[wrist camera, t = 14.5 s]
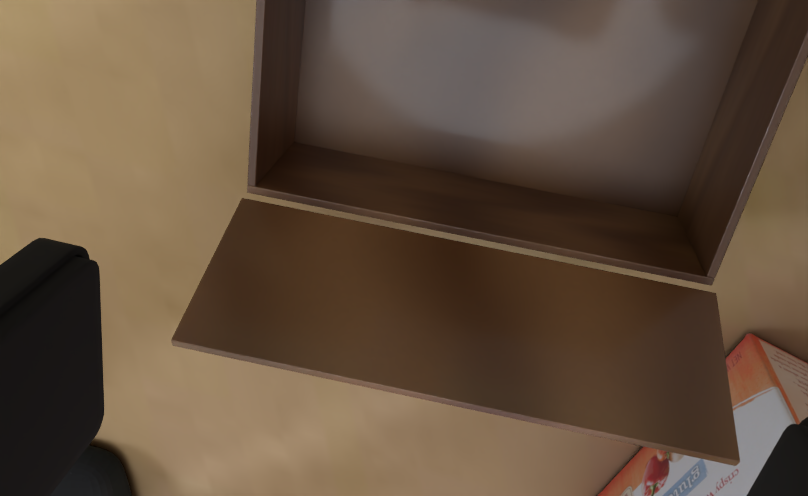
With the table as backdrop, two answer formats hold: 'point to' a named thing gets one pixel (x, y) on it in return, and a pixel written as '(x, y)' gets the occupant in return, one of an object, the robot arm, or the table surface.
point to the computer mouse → (94, 476)
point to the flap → (468, 328)
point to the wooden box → (529, 118)
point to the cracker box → (754, 421)
